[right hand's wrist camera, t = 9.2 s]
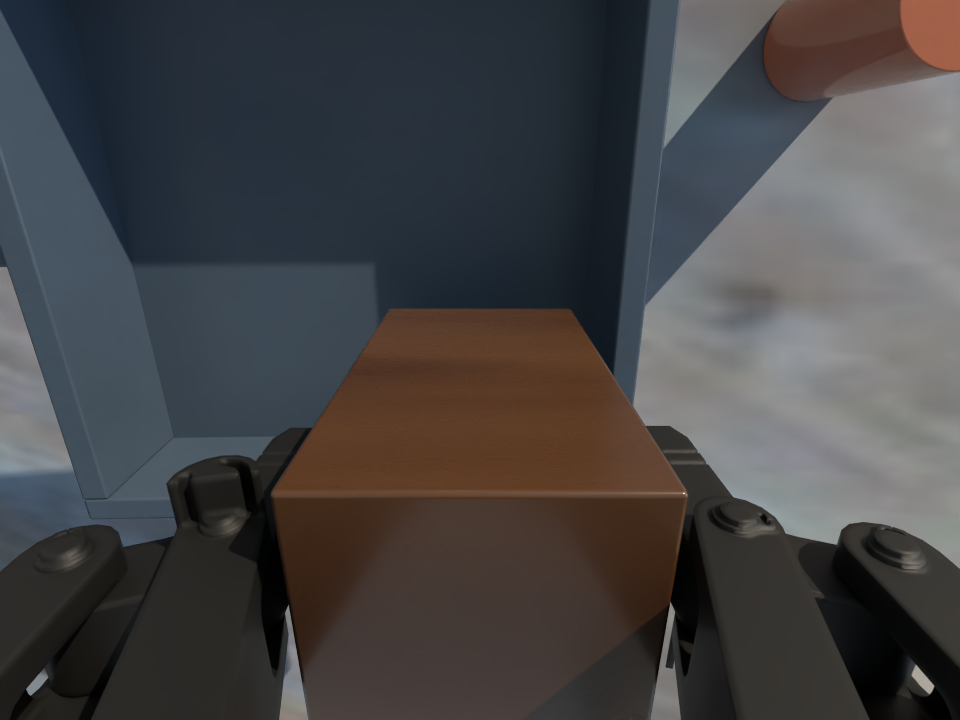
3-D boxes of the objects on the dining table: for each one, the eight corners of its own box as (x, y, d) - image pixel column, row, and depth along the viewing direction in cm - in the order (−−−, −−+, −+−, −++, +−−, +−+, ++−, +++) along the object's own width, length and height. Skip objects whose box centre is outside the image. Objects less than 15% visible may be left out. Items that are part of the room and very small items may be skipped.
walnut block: (560, 465, 16) (643, 770, 8) (398, 465, 16) (314, 770, 8) (571, 308, 14) (691, 492, 6) (388, 307, 14) (266, 493, 6)
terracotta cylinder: (855, 101, 25) (1028, 71, 17) (753, 101, 25) (880, 72, 17) (883, -20, 23) (1092, -117, 15) (774, -20, 23) (926, -116, 15)
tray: (590, 441, 21) (687, 652, 12) (-204, 454, 21) (-758, 691, 11) (638, -118, 15) (931, -596, 6) (-525, -135, 14) (-2499, -736, 5)
